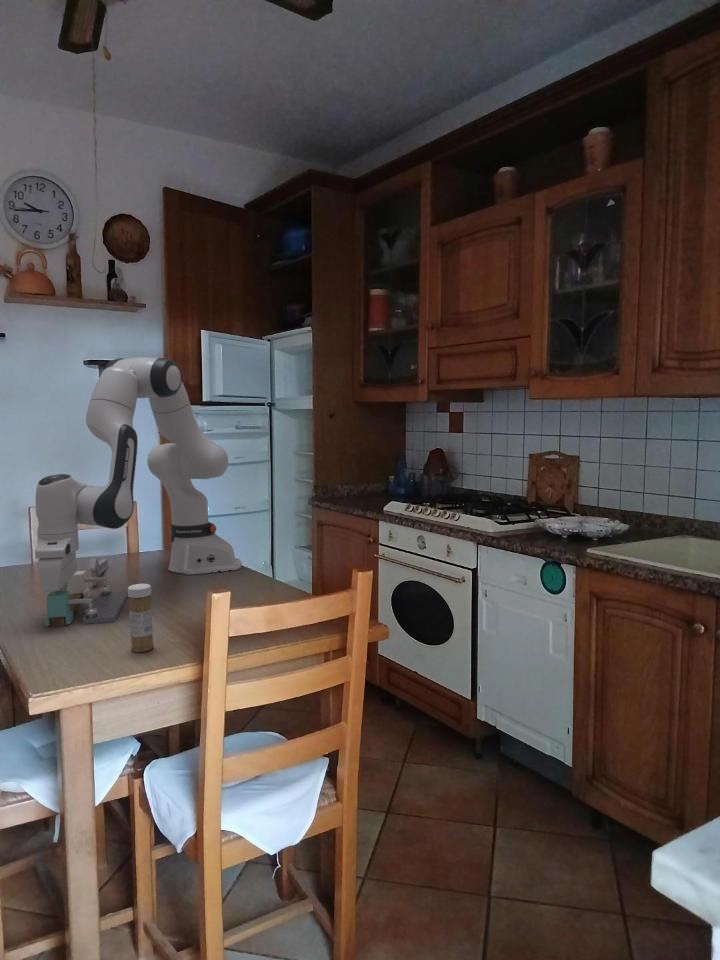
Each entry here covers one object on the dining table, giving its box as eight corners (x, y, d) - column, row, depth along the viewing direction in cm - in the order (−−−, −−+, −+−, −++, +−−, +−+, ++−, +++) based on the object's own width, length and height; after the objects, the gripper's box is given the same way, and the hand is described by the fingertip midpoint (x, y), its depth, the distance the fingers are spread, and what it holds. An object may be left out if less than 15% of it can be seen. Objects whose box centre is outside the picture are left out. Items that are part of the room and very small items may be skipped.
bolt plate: (128, 595, 183) (127, 585, 182) (114, 622, 159) (113, 610, 159) (100, 596, 181) (100, 586, 181) (82, 624, 158) (82, 612, 158)
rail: (84, 598, 180) (84, 590, 180) (64, 625, 157) (64, 617, 157) (72, 598, 180) (72, 591, 179) (50, 626, 157) (50, 618, 157)
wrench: (108, 576, 216) (96, 589, 187) (102, 576, 216) (89, 589, 187) (107, 550, 216) (95, 559, 187) (101, 551, 216) (88, 560, 187)
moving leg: (94, 617, 162) (93, 589, 162) (91, 622, 158) (89, 593, 158) (49, 620, 160) (48, 592, 160) (45, 626, 157) (43, 596, 156)
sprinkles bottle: (146, 643, 144) (143, 581, 143) (158, 648, 141) (155, 585, 140) (126, 649, 141) (123, 586, 140) (137, 654, 138) (134, 589, 136)
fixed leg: (108, 594, 182) (107, 569, 182) (106, 598, 178) (104, 573, 178) (68, 597, 180) (67, 571, 180) (65, 601, 176) (63, 575, 176)
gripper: (54, 536, 171) (58, 590, 172) (32, 552, 151) (36, 613, 152) (81, 535, 172) (84, 588, 173) (62, 551, 152) (66, 611, 153)
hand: (61, 600), depth 162 cm, fingers closed
